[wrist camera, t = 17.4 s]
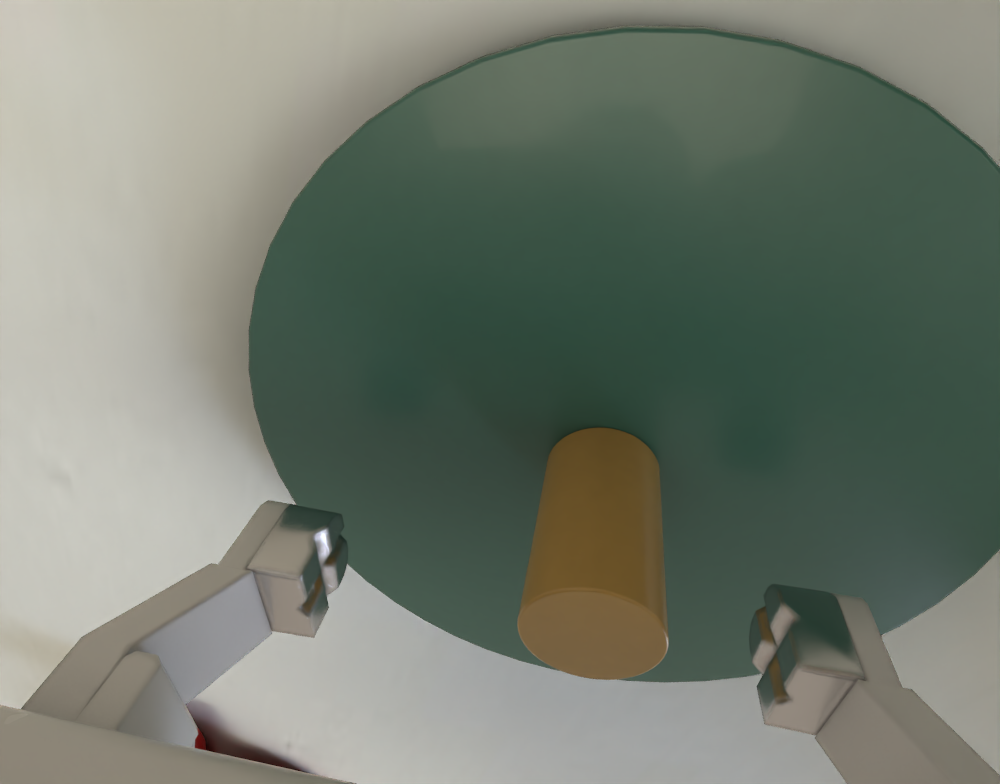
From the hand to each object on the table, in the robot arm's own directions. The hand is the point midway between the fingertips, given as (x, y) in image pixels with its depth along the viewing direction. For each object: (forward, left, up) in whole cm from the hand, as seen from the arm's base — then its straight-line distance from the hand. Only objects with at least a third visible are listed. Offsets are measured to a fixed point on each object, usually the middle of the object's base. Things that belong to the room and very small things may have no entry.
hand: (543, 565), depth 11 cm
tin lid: (-1, -1, -3) cm, 3 cm away
